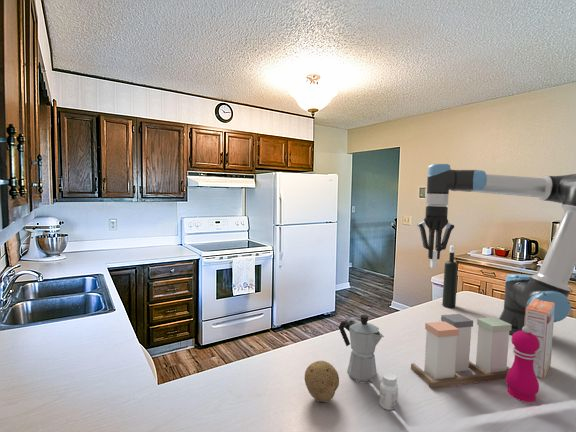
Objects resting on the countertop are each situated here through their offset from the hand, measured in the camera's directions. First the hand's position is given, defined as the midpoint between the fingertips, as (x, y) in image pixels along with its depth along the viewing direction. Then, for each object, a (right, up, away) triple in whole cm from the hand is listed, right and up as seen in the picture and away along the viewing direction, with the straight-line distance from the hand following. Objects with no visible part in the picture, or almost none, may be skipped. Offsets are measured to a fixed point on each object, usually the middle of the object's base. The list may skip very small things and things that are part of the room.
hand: (433, 267), depth 125 cm
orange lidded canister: (-12, -27, -31) cm, 43 cm away
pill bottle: (-30, -29, -41) cm, 58 cm away
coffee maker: (-34, -28, -26) cm, 51 cm away
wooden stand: (-4, -28, -26) cm, 38 cm away
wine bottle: (+23, -25, +35) cm, 49 cm away
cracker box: (+22, -29, -22) cm, 43 cm away
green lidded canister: (+6, -27, -26) cm, 38 cm away
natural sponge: (-47, -28, -39) cm, 67 cm away
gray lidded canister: (-4, -27, -24) cm, 36 cm away
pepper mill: (+7, -30, -37) cm, 48 cm away
